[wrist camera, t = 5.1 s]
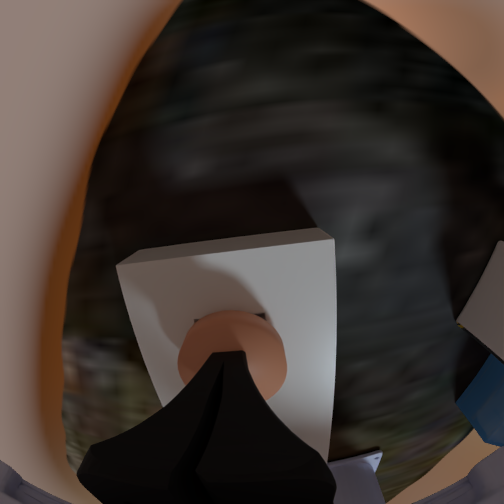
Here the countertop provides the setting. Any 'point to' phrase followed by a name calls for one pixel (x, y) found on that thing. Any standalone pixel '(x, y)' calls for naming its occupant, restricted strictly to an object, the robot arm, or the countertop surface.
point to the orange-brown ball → (236, 347)
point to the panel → (248, 300)
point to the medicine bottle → (487, 307)
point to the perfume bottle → (486, 402)
